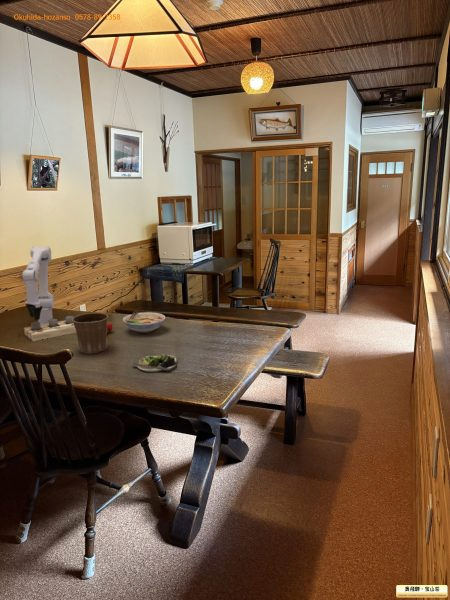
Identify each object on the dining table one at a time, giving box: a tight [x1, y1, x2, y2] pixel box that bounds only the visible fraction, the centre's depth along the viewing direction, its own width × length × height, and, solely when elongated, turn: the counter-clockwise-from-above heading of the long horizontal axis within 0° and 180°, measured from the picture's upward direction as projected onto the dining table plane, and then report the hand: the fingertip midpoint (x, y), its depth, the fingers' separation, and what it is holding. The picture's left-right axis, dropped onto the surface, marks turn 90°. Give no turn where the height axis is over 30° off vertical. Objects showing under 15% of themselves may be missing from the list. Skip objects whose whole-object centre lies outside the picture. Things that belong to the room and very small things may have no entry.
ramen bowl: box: [122, 309, 166, 334], centre depth 235 cm, size 25×23×8 cm
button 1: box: [30, 321, 41, 331], centre depth 228 cm, size 4×4×4 cm
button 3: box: [65, 315, 75, 325], centre depth 239 cm, size 4×4×4 cm
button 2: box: [49, 318, 59, 328], centre depth 233 cm, size 4×4×4 cm
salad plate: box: [130, 354, 178, 373], centre depth 188 cm, size 19×18×5 cm
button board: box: [23, 319, 77, 342], centre depth 233 cm, size 15×27×4 cm, turn 130°
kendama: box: [106, 321, 113, 335], centre depth 228 cm, size 8×6×18 cm
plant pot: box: [72, 312, 109, 355], centre depth 205 cm, size 16×16×16 cm
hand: (35, 318), depth 226 cm, fingers open, 7 cm apart
